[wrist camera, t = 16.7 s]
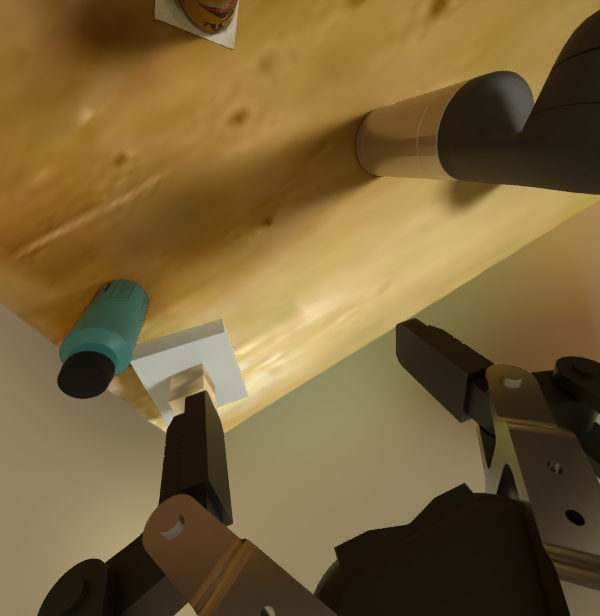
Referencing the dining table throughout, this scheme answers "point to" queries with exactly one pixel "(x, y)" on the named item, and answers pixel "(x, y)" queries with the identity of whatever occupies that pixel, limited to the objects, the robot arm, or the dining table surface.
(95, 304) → the beverage bottle
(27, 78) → the dining table surface
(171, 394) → the maple block
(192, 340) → the base block
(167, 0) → the condiment
